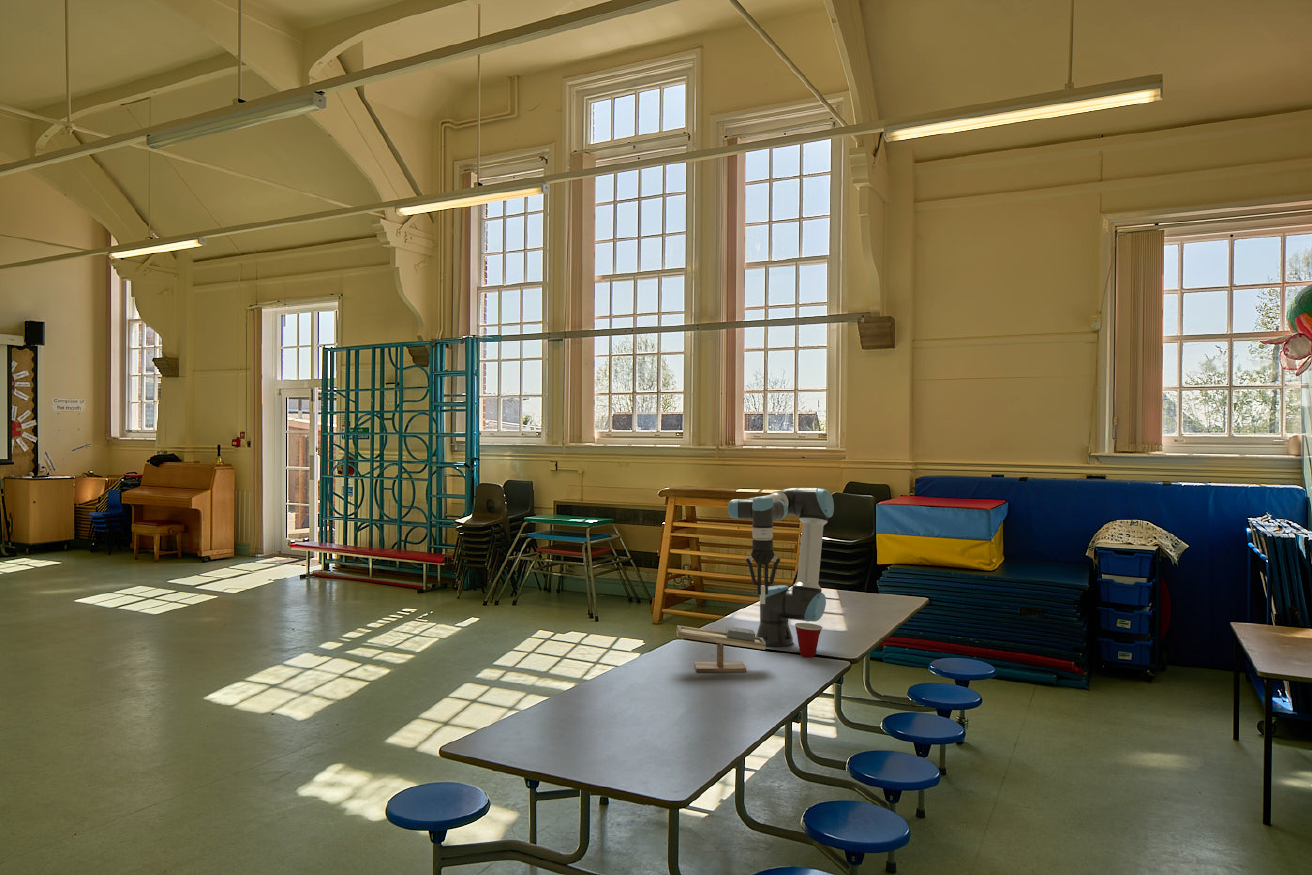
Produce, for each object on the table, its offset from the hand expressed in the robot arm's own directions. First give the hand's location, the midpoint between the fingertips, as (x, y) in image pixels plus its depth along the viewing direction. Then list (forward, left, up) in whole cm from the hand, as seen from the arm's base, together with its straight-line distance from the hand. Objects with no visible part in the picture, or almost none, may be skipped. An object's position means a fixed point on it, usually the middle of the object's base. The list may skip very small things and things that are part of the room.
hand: (762, 603), depth 322 cm
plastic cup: (-18, +20, -24) cm, 36 cm away
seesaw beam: (0, -16, -14) cm, 21 cm away
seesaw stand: (0, -16, -24) cm, 28 cm away
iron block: (0, -8, -13) cm, 16 cm away
